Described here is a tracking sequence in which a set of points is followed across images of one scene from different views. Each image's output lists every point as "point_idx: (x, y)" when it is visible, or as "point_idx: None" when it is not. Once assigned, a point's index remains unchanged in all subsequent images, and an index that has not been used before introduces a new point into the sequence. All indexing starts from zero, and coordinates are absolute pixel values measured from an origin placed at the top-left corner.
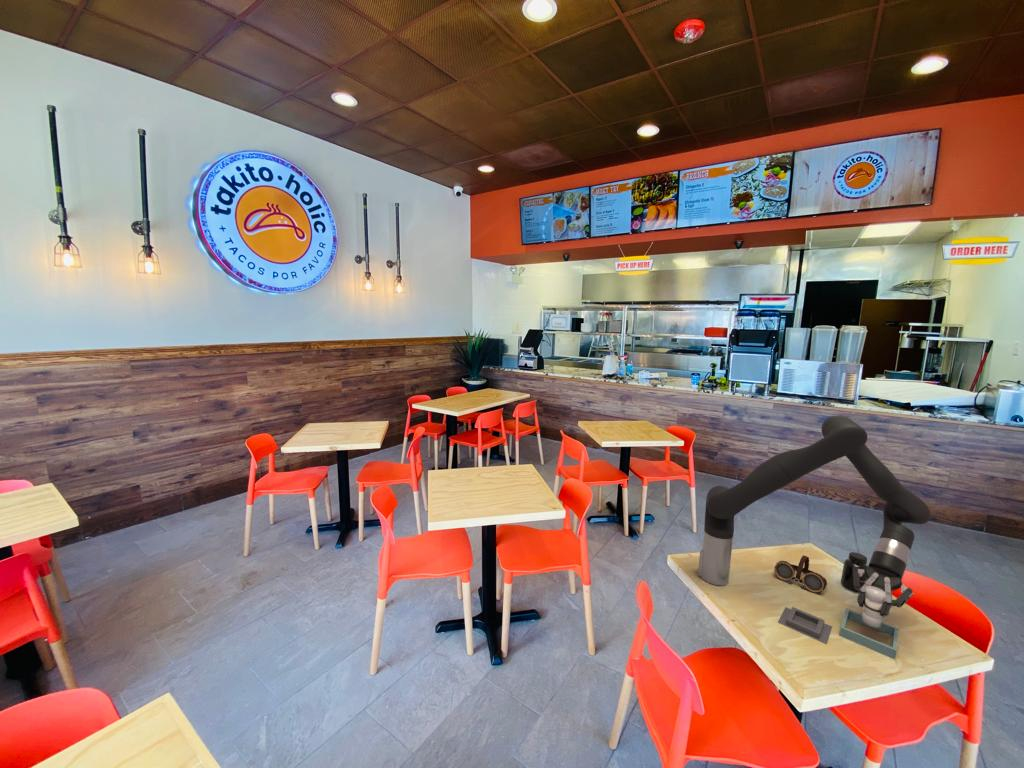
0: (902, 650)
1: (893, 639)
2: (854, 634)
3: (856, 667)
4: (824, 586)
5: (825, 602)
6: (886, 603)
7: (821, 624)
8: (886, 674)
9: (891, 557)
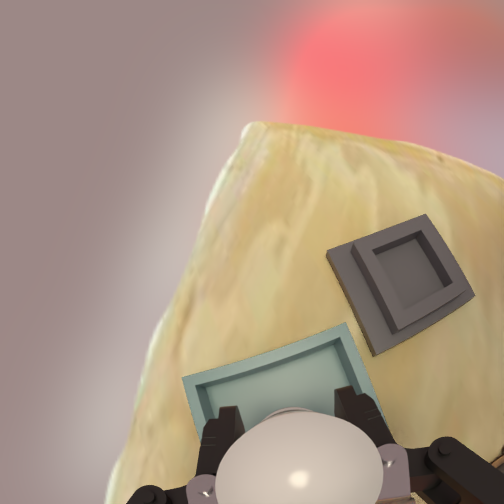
0: None
1: None
2: (303, 340)
3: (245, 256)
4: None
5: None
6: (215, 467)
7: (386, 294)
8: (192, 303)
9: None
